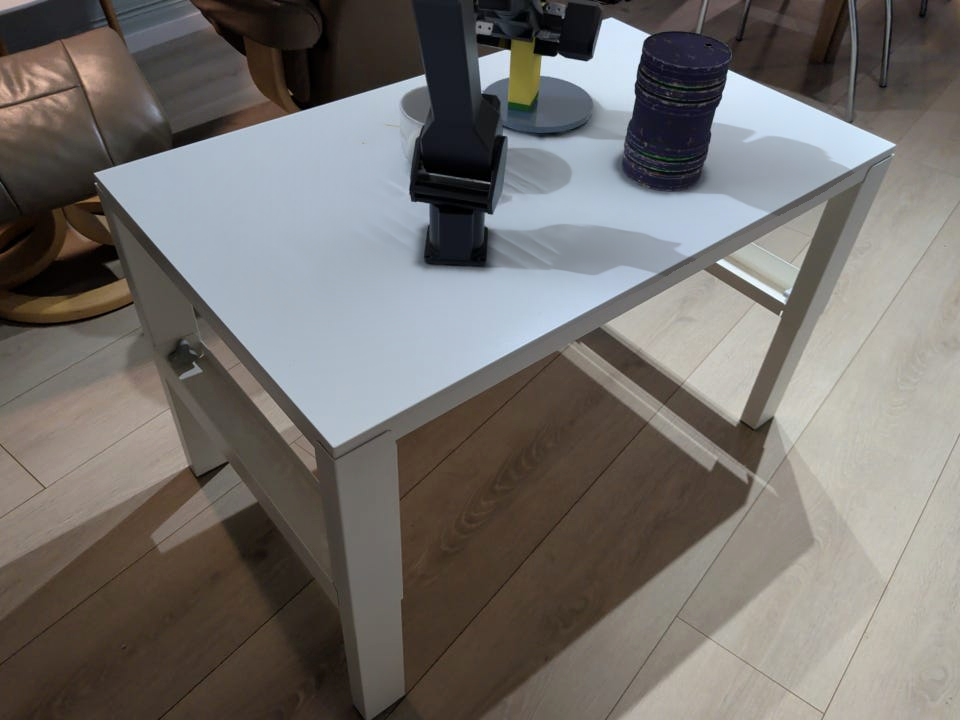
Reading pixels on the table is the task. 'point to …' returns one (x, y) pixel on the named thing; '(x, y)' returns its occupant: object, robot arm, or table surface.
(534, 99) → the yellow green tall block
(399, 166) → the table surface
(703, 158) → the dark purple barrel
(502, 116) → the plate
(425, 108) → the teacup
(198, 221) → the table surface
